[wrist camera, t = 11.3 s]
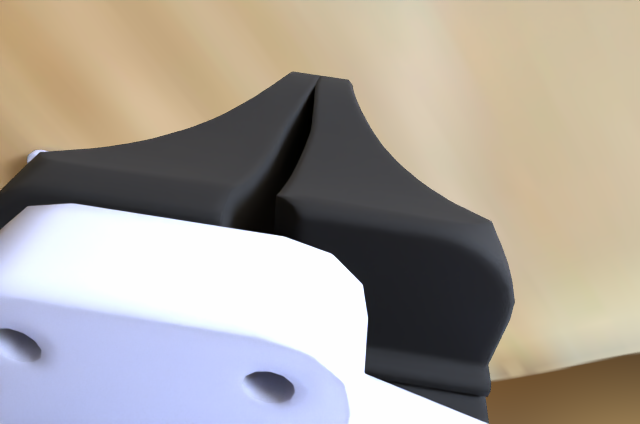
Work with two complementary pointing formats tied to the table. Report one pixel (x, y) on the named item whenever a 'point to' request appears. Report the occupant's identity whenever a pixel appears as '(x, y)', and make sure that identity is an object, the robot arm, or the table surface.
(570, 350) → the table surface
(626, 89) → the table surface
